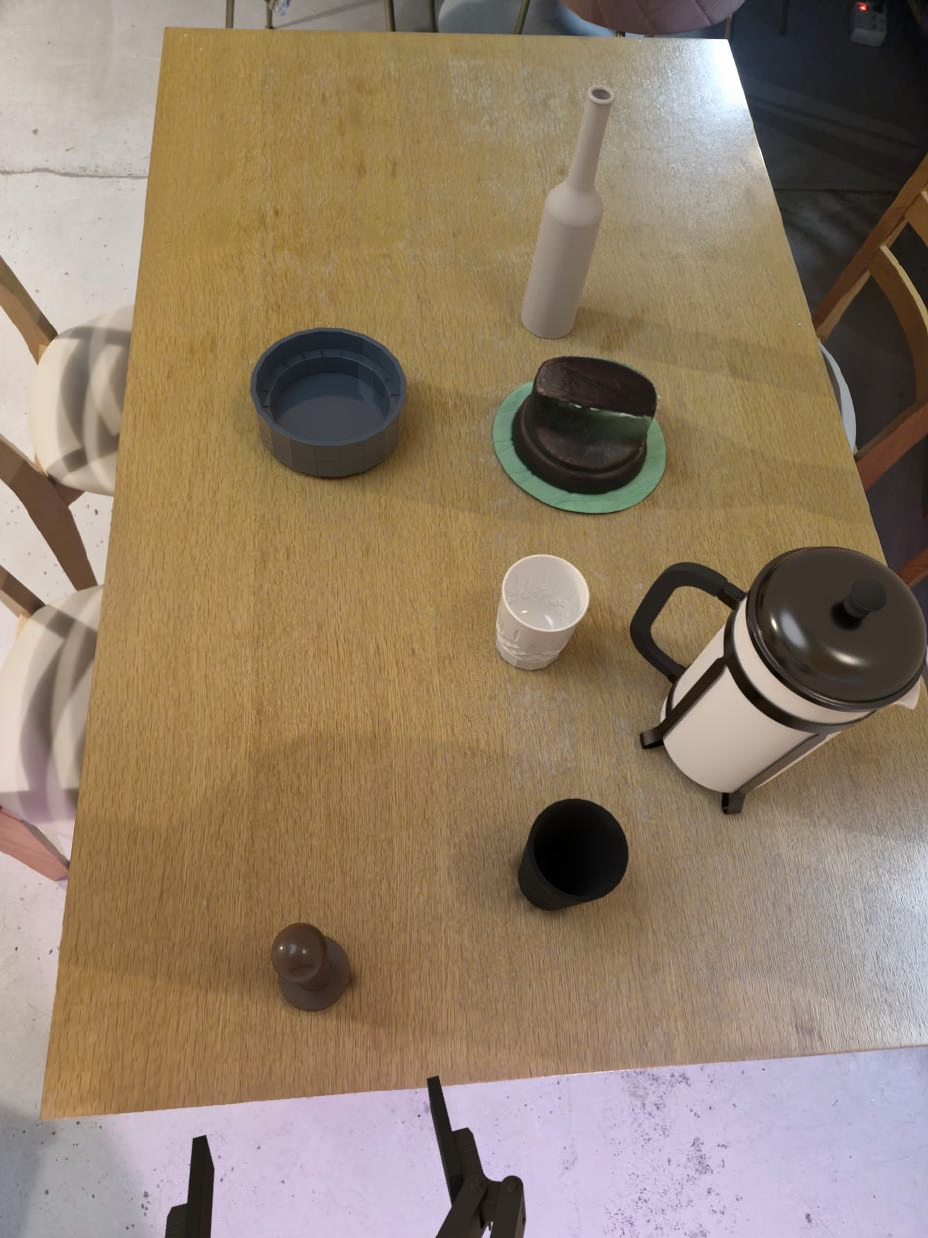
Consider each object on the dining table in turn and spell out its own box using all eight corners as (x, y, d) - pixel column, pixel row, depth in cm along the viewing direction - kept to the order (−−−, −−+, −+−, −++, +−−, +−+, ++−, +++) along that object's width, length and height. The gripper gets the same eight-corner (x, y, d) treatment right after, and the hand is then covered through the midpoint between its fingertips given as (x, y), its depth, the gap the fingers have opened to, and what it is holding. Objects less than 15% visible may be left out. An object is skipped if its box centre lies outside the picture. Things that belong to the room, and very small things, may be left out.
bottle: (578, 337, 104) (643, 114, 79) (526, 340, 103) (575, 114, 78) (567, 298, 107) (626, 71, 82) (516, 300, 106) (560, 70, 81)
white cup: (531, 591, 87) (548, 539, 78) (583, 647, 85) (607, 599, 76) (472, 633, 84) (484, 583, 76) (524, 691, 82) (543, 648, 73)
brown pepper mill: (277, 1013, 67) (248, 1000, 51) (281, 938, 70) (254, 903, 54) (349, 1010, 68) (341, 996, 52) (350, 935, 71) (343, 900, 54)
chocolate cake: (658, 369, 102) (692, 511, 93) (513, 418, 108) (532, 555, 99) (630, 282, 89) (665, 437, 81) (467, 343, 95) (484, 493, 87)
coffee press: (772, 661, 86) (950, 485, 60) (801, 818, 79) (1019, 698, 52) (605, 654, 85) (711, 472, 58) (619, 814, 77) (747, 689, 51)
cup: (532, 817, 77) (558, 779, 66) (606, 863, 75) (645, 831, 65) (489, 892, 73) (509, 865, 63) (567, 941, 72) (601, 922, 61)
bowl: (252, 479, 90) (245, 443, 85) (261, 364, 97) (255, 324, 92) (405, 482, 92) (407, 447, 87) (403, 368, 99) (405, 330, 94)
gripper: (16, 1820, 29) (114, 1228, 49) (683, 1565, 34) (528, 1116, 54) (-45, 1706, 27) (84, 1131, 47) (682, 1447, 31) (520, 1023, 51)
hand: (322, 1122), depth 50 cm, fingers open, 13 cm apart
